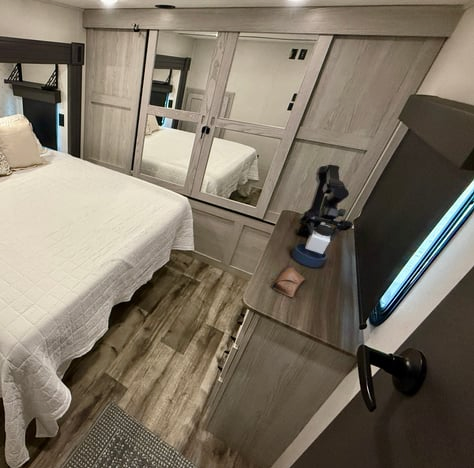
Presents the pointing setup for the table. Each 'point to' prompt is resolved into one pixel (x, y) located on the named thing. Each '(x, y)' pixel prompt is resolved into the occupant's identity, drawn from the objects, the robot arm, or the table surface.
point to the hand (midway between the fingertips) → (320, 237)
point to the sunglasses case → (288, 282)
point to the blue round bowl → (308, 256)
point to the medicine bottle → (319, 239)
